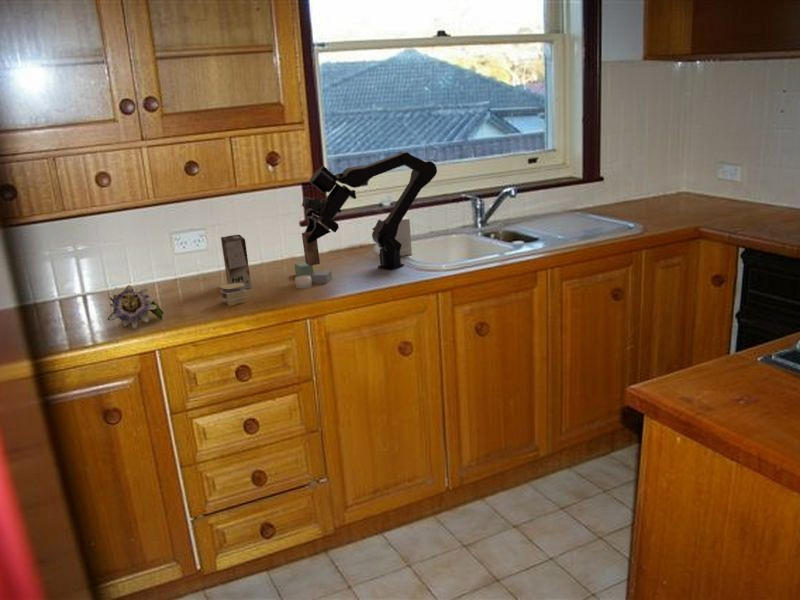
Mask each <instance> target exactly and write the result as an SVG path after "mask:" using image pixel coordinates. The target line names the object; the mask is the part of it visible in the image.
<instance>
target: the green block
mask: <svg viewBox="0 0 800 600" xmlns="http://www.w3.org/2000/svg"><path fill="white" fill-rule="evenodd" d="M313 266H314V265H311V266H309V265H308V264H306V262H305V261H300V262H294V271H295V276H296V277H297V276H302V275H309V276H311V277H312V274H314V267H313Z"/></svg>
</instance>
